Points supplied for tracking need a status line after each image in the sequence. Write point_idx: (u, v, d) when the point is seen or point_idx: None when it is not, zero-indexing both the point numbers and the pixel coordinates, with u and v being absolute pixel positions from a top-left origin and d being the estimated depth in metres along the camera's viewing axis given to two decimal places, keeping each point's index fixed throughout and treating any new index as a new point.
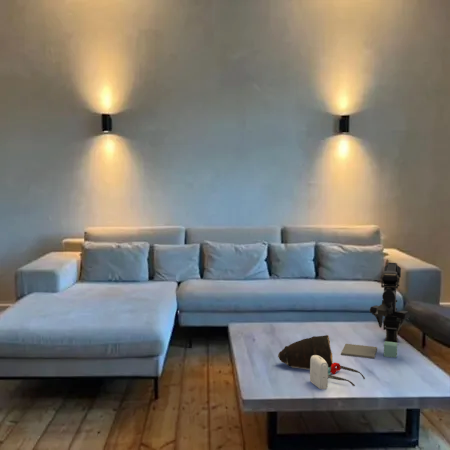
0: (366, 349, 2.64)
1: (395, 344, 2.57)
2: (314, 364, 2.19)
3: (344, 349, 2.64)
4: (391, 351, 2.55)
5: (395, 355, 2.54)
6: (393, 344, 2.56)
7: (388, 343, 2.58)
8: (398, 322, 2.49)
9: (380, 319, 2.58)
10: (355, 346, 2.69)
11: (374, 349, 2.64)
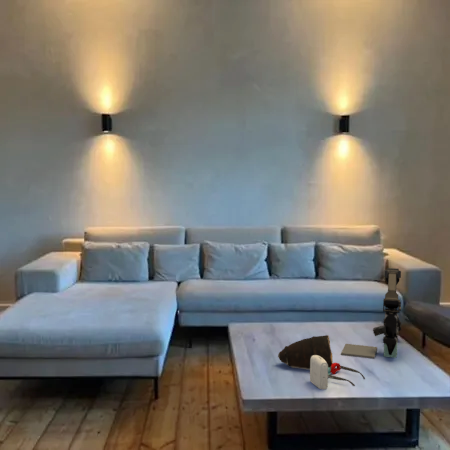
0: (366, 349, 2.64)
1: None
2: (314, 364, 2.19)
3: (344, 349, 2.64)
4: None
5: (395, 355, 2.54)
6: None
7: None
8: (387, 345, 2.54)
9: None
10: (355, 346, 2.69)
11: (374, 349, 2.64)
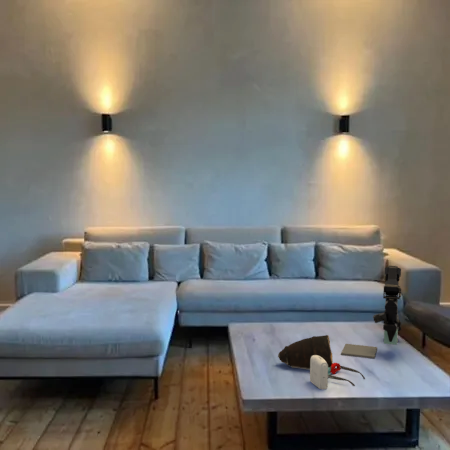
0: (366, 349, 2.64)
1: None
2: (314, 364, 2.19)
3: (344, 349, 2.64)
4: None
5: (395, 342, 2.53)
6: None
7: None
8: (387, 332, 2.53)
9: None
10: (355, 346, 2.69)
11: (374, 349, 2.64)
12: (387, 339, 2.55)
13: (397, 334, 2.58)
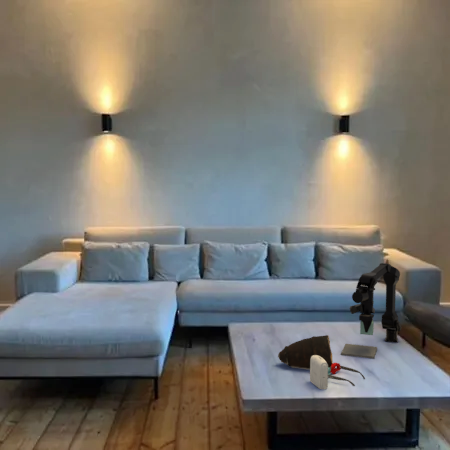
0: (366, 349, 2.64)
1: (372, 321, 2.60)
2: (314, 364, 2.19)
3: (344, 349, 2.64)
4: None
5: (371, 332, 2.57)
6: None
7: None
8: (363, 322, 2.57)
9: None
10: (355, 346, 2.69)
11: (374, 349, 2.64)
12: (363, 330, 2.58)
13: (373, 325, 2.61)
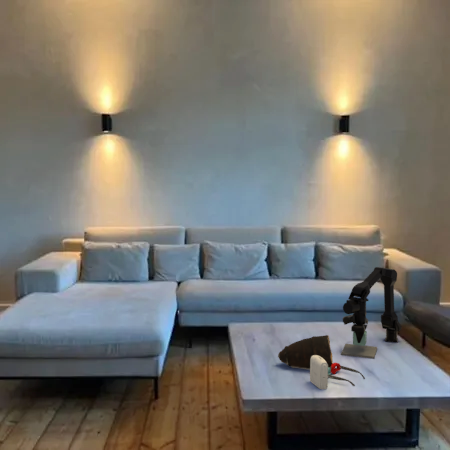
0: (366, 349, 2.64)
1: (364, 332, 2.62)
2: (314, 364, 2.19)
3: (344, 349, 2.64)
4: None
5: (364, 343, 2.59)
6: None
7: None
8: None
9: None
10: (355, 346, 2.69)
11: (374, 349, 2.64)
12: (356, 340, 2.60)
13: (366, 335, 2.63)
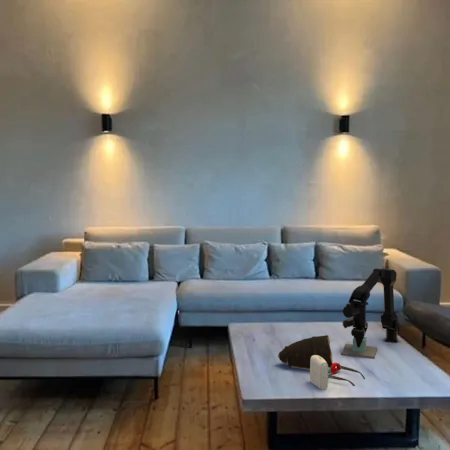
0: (366, 349, 2.64)
1: (364, 338, 2.62)
2: (314, 364, 2.19)
3: (344, 349, 2.64)
4: (360, 345, 2.60)
5: (363, 349, 2.59)
6: None
7: None
8: None
9: None
10: None
11: (374, 349, 2.64)
12: (356, 347, 2.61)
13: None
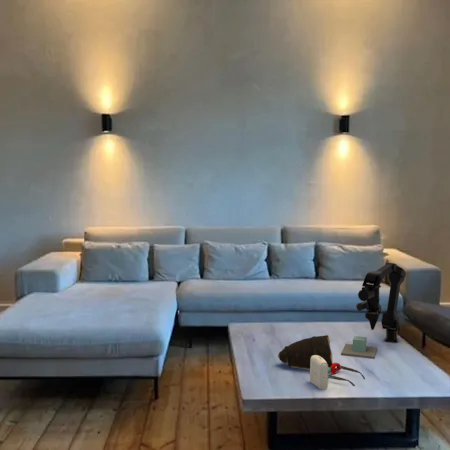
0: (366, 349, 2.64)
1: (364, 338, 2.62)
2: (314, 364, 2.19)
3: (344, 349, 2.64)
4: (360, 345, 2.60)
5: (363, 349, 2.59)
6: (361, 339, 2.61)
7: (357, 338, 2.63)
8: None
9: None
10: None
11: (374, 349, 2.64)
12: (356, 347, 2.61)
13: None
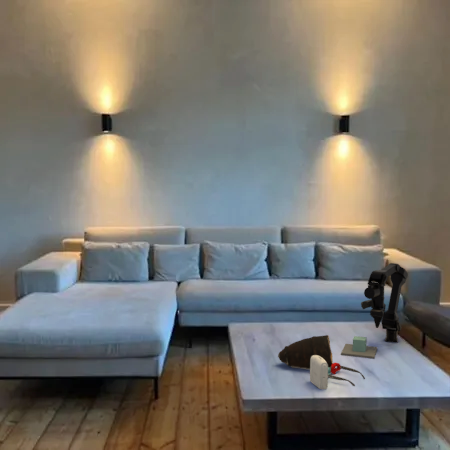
0: (366, 349, 2.64)
1: (364, 338, 2.62)
2: (314, 364, 2.19)
3: (344, 349, 2.64)
4: (360, 345, 2.60)
5: (363, 349, 2.59)
6: (361, 339, 2.61)
7: (357, 338, 2.63)
8: None
9: None
10: None
11: (374, 349, 2.64)
12: (356, 347, 2.61)
13: None
